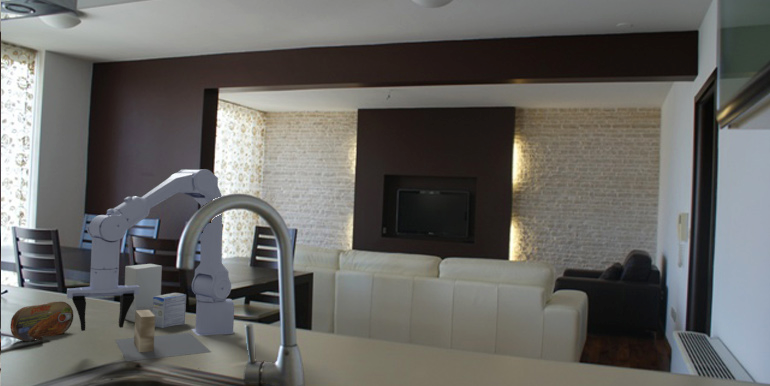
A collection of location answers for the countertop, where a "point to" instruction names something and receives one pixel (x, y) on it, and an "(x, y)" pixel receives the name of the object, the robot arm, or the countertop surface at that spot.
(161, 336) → the mat
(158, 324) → the medicine box
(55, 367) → the countertop surface
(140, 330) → the tan flat block
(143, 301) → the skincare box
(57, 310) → the tin
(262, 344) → the countertop surface
